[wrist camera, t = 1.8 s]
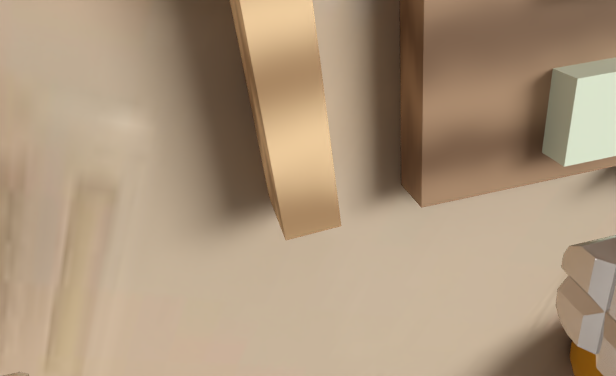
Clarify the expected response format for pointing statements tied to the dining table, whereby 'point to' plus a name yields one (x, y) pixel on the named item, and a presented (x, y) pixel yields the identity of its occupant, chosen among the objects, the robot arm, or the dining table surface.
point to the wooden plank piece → (289, 111)
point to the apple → (583, 362)
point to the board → (489, 90)
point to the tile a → (581, 113)
